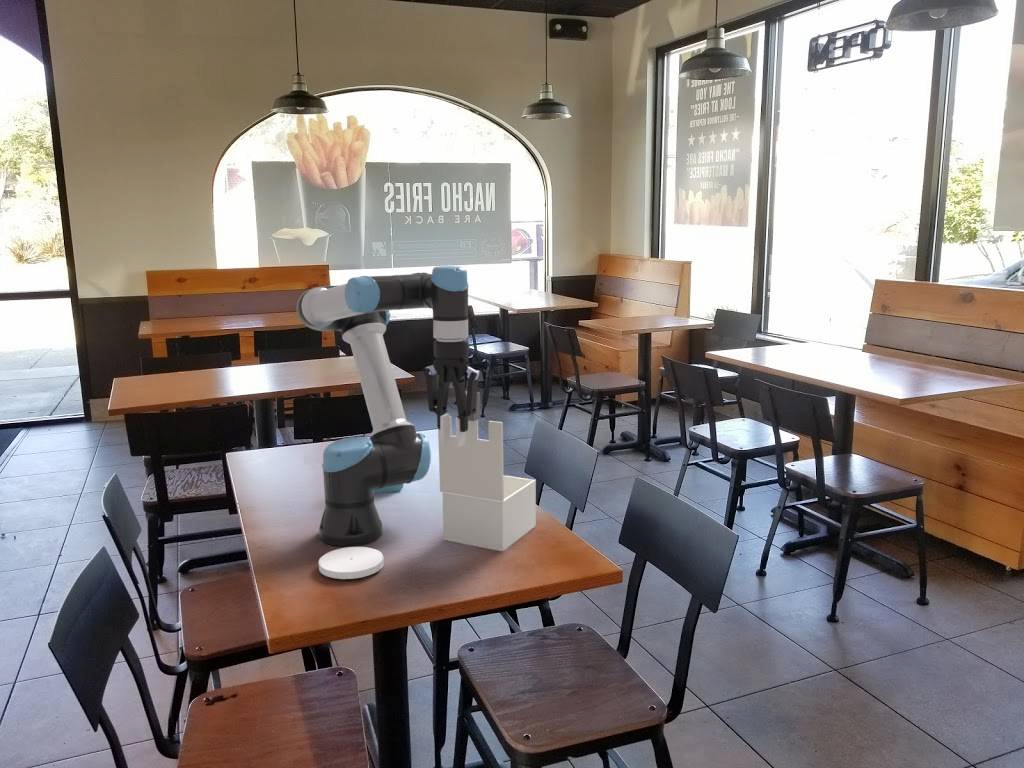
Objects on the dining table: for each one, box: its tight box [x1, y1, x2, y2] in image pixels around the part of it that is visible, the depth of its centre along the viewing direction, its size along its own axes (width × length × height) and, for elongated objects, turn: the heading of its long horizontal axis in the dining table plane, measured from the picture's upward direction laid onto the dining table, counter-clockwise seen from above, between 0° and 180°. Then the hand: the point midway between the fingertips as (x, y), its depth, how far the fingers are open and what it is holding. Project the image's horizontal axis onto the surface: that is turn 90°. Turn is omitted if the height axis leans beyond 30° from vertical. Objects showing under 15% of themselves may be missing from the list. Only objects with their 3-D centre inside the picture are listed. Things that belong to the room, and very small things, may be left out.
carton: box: [442, 474, 537, 552], centre depth 202 cm, size 18×16×12 cm
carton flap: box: [437, 390, 504, 502], centre depth 190 cm, size 25×17×3 cm
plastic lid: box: [318, 546, 385, 580], centre depth 182 cm, size 14×14×2 cm
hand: (452, 444), depth 182 cm, fingers open, 3 cm apart
